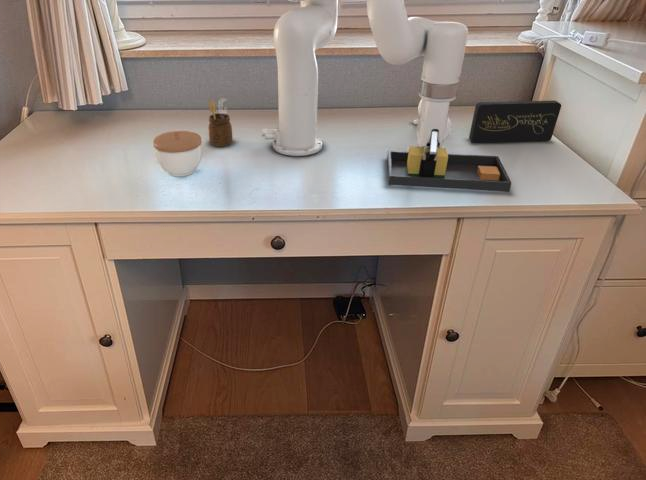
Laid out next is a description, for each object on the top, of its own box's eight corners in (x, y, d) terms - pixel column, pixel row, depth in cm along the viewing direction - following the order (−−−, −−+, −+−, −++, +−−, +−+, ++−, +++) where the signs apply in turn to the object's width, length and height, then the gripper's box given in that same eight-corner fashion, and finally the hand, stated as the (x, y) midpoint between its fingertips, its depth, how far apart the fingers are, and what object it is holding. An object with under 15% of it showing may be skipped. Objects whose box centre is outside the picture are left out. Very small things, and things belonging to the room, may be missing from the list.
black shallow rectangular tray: (388, 187, 112) (389, 176, 110) (386, 160, 123) (388, 150, 122) (508, 194, 109) (511, 182, 107) (495, 166, 120) (498, 156, 119)
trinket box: (154, 165, 122) (148, 127, 116) (198, 159, 125) (194, 121, 119) (162, 184, 114) (155, 143, 108) (209, 176, 117) (205, 136, 111)
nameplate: (547, 138, 134) (558, 100, 128) (550, 141, 133) (562, 102, 127) (468, 140, 133) (476, 102, 127) (470, 143, 132) (479, 104, 126)
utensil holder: (237, 141, 134) (234, 94, 127) (224, 149, 130) (220, 101, 123) (218, 137, 136) (214, 91, 129) (204, 145, 132) (200, 98, 125)
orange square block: (479, 179, 113) (481, 173, 112) (476, 172, 116) (478, 165, 115) (498, 180, 113) (500, 174, 112) (495, 173, 116) (496, 166, 115)
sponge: (407, 175, 114) (410, 154, 112) (406, 166, 118) (409, 146, 116) (444, 177, 113) (448, 156, 111) (441, 168, 117) (445, 147, 115)
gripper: (417, 77, 113) (406, 155, 123) (422, 101, 99) (410, 187, 109) (452, 78, 112) (438, 157, 122) (463, 102, 98) (446, 189, 109)
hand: (425, 170), depth 116 cm, fingers closed on sponge, 5 cm apart
